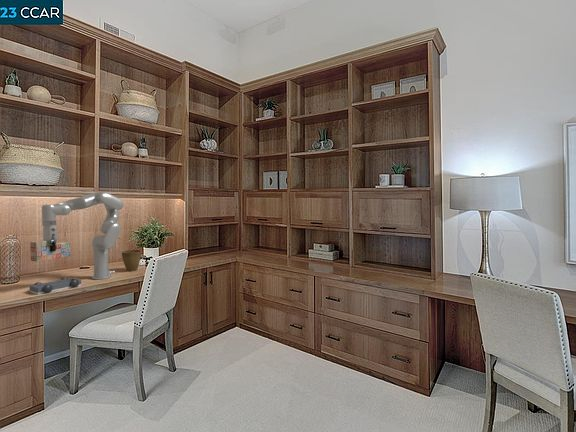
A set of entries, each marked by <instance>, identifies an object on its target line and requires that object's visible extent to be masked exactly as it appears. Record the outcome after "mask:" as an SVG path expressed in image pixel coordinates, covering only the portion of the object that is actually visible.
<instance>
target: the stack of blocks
mask: <svg viewBox="0 0 576 432" xmlns="http://www.w3.org/2000/svg"><path fill="white" fill-rule="evenodd" d="M29 243H30V244H29V245H30V247H29V249H30V261H31V262H41V261H42V262H43V261H49V260H55V259H59V258H61V259H62V258H65V257H70V256H71V244H70V242H65V241H64V242H56V251H50V241H47V240H43V239H42V240H36V241H30V242H29Z"/></svg>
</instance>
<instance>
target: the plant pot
mask: <svg viewBox="0 0 576 432" xmlns="http://www.w3.org/2000/svg"><path fill="white" fill-rule="evenodd" d="M121 256H122V261H123V264H124V267H125V269H126V272H137V271H138V268H139V265H140V262H141V257H142V250H141V249H130V250H129V249H128V250H123V251H121Z"/></svg>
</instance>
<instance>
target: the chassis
mask: <svg viewBox="0 0 576 432" xmlns="http://www.w3.org/2000/svg"><path fill="white" fill-rule="evenodd" d="M78 287H82V279H79V278H76V277H71V278H68V277H62V278H60V279H59V280H53V281H47V282H43V283H42V282H40V281H36V282H35V283H33V284H31V285H29V293H32V294H35V295H43V294H49V293H52V292H57V291H58V292H59V291H62V290H68V289H72V288H78Z"/></svg>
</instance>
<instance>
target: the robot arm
mask: <svg viewBox="0 0 576 432" xmlns="http://www.w3.org/2000/svg"><path fill="white" fill-rule="evenodd" d="M100 204H103V206H104V207H105V209H106V210H105V211H106V216H105V218H104V220H103V223H102V224H101V226H100V232H101V234H104V235H101V234H99V235H96V236H94V237H93V239H92V242H91V244H92V249H93V275H92V276H91V279H92V280H106V279H110V278H111V277H112V274H116V272H115V271H116V270H109V267H110V266H109V249H112V248H113V247H114V246H115V244H117V243H116V242H117V241H118V239H119V236H120V234H121V231H122V228H121V225H120V224H119V223H118V222H119V219H120V212H119V211H121V210H122V209H123V208H124V205H125V203H124V201H123V200H122V199H121V198H119V197H117V196H114V195H112V194H110V193H108V192H105V191H97V192H93V193H89V194H87V195H83V196H80V197H76V198H72V199H71V198H70V199H68V200H64V201H61V202H58V203H55V204H43V205H42V206H41V222H42V223H41V226H42V227H43V228H42V240H47V241H50V251H56V243H57V241H58V238H59V237H58V227H57V216H68V215H69V214H70V213H71V212H72V211H76V210H84V209H88V208H90V207H93V206H96V205H100Z"/></svg>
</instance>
